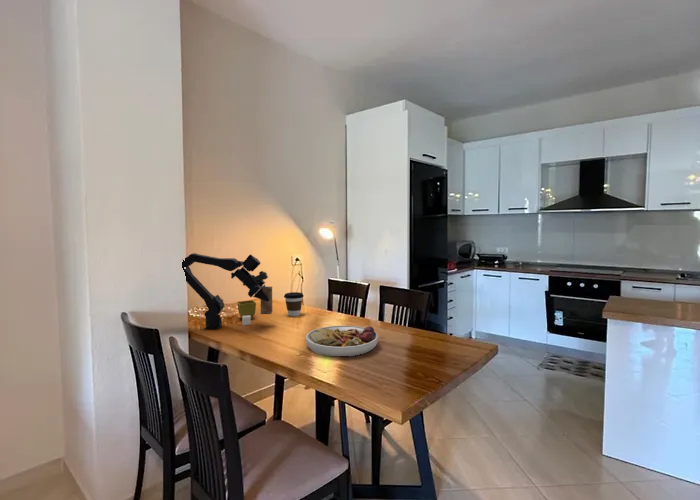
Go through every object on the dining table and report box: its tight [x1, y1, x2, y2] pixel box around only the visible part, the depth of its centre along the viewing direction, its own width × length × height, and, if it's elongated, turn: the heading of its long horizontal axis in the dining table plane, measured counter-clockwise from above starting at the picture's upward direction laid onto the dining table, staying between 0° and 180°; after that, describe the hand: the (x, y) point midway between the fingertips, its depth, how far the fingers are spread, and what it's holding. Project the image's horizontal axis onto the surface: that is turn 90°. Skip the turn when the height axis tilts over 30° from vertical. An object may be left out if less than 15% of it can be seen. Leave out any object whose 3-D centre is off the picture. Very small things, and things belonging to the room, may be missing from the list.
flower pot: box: [236, 299, 257, 320], centre depth 205 cm, size 9×9×9 cm
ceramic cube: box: [241, 315, 252, 326], centre depth 194 cm, size 4×4×4 cm
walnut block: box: [260, 286, 273, 315], centre depth 188 cm, size 5×5×13 cm
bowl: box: [305, 325, 379, 357], centre depth 158 cm, size 30×30×8 cm
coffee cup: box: [283, 291, 304, 317], centre depth 212 cm, size 11×11×12 cm
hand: (269, 299), depth 188 cm, fingers closed on walnut block, 5 cm apart
